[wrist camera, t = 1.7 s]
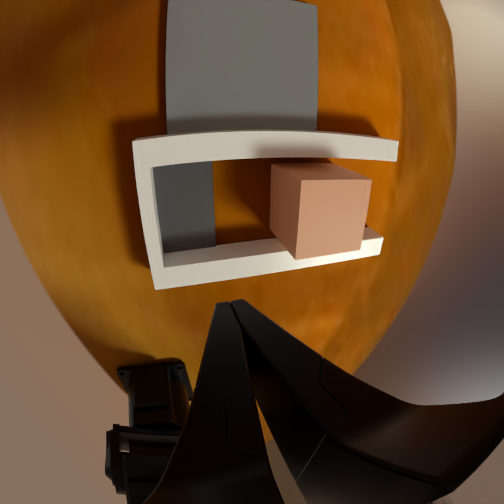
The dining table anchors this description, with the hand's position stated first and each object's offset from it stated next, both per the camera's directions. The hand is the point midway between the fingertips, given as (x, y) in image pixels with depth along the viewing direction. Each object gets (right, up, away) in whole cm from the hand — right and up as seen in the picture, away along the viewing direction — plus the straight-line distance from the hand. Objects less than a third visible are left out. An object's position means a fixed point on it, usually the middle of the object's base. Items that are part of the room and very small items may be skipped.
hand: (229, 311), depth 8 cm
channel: (+3, +5, +10) cm, 11 cm away
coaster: (0, +13, +5) cm, 14 cm away
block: (+4, +6, +10) cm, 12 cm away
